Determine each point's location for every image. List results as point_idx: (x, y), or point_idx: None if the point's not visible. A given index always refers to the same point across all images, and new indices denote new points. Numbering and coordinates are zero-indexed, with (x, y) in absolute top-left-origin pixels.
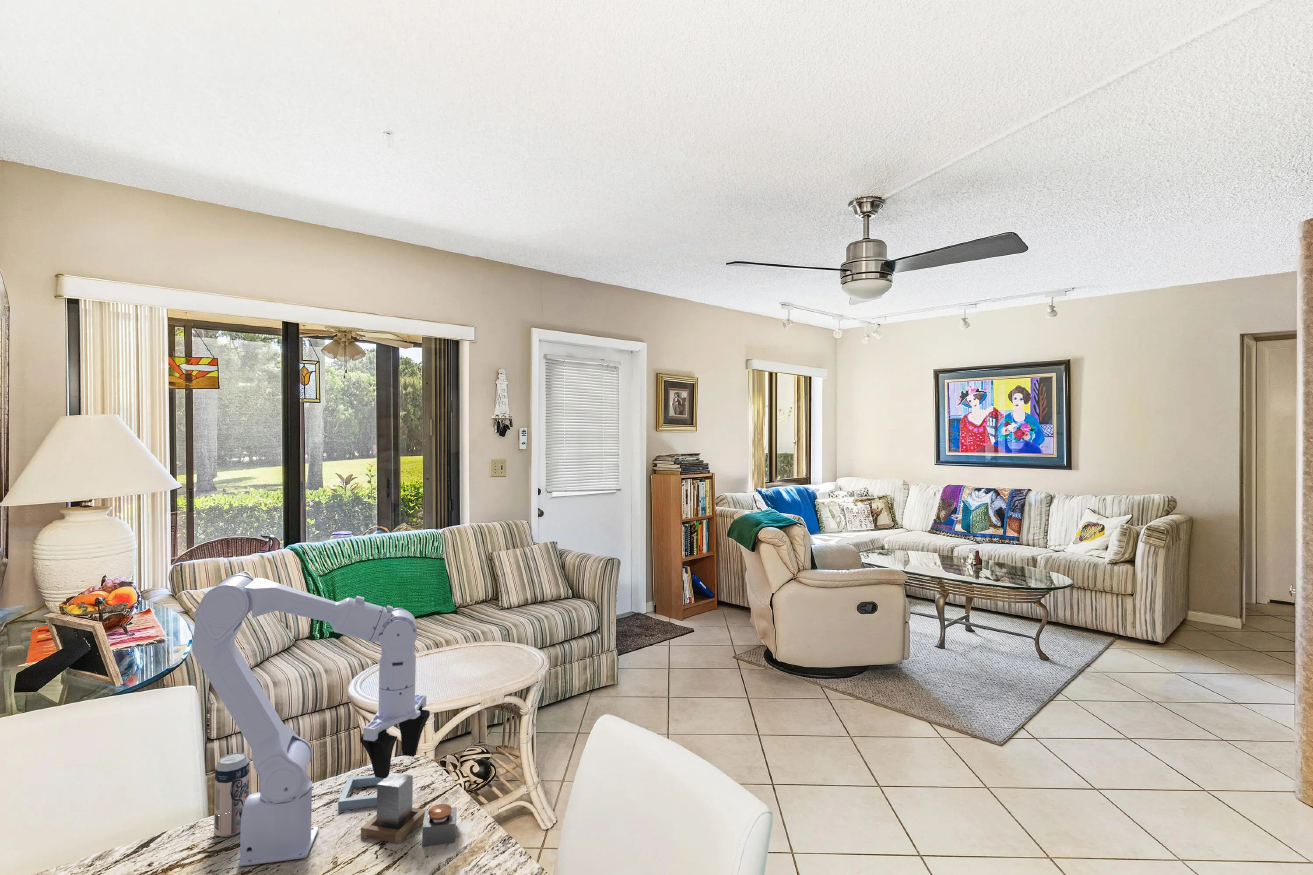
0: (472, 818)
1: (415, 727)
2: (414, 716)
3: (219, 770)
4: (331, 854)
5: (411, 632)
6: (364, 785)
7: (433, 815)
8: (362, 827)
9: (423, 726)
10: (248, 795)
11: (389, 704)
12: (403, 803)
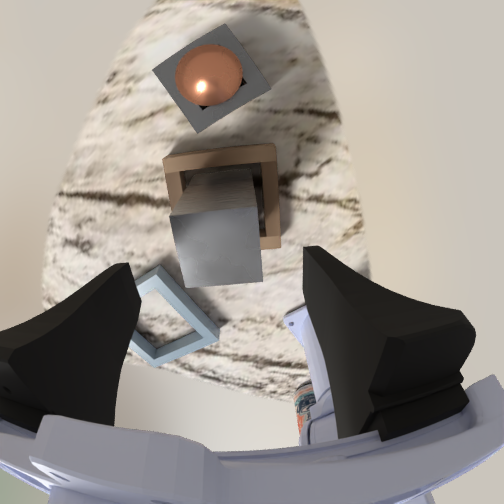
0: (129, 61)
1: (72, 347)
2: (182, 475)
3: None
4: (339, 248)
5: None
6: (143, 338)
7: (241, 72)
8: (279, 245)
9: (35, 319)
10: (306, 420)
11: None
12: (228, 188)
